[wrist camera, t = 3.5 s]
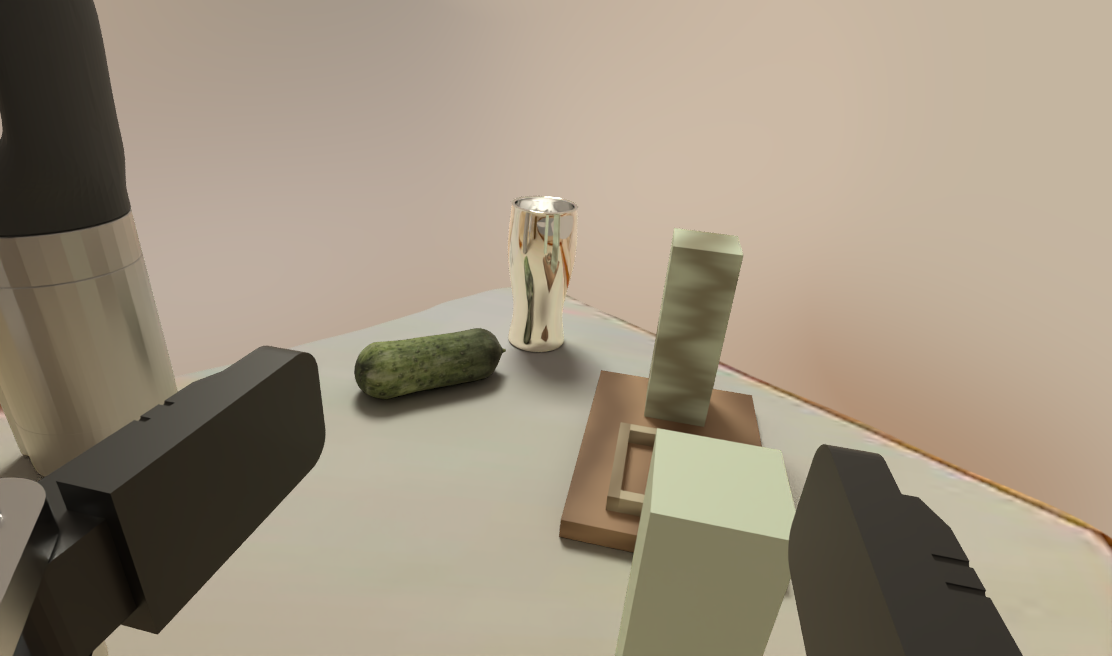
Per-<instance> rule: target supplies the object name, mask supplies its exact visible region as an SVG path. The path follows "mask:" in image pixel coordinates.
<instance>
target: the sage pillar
mask: <svg viewBox="0 0 1112 656" xmlns="http://www.w3.org/2000/svg"><path fill="white" fill-rule="evenodd" d="M795 513H796V511H795V506H794V502H793V498H792V494H791V490H790V486H789V482H788V477H787V473H786V469H785V465H784V461H783V457H782V452H781V450H776V449H770V448H765V447H759V446H754V445H748V444H742V443H737V442H731V441H726V440H720V439H715V438H709V437H704V436H698V435H692V434H687V433H681V432H676V431H670V430H665V429H659V428H657V431H656V436H655V442H654V447H653V453H652V458H651V463H650V469H649V474H648V480H647V485H646V490H645V496H644V501H643V506H642V512H641V517H640V523H639V528H638V533H637V539H636V544H635V550H634V555H633V560H632V566H631V571H630V576H629V582H628V587H627V593H626V598H625V603H624V609H623V614H622V620H621V625H620V630H619V636H618V641H617V647H616V652H615V656H763V653H764V651H765V648H766V645H767V642H768V640H769V637H770V634H771V631H772V628H773V626H774V623H775V620H776V617H777V615H778V612H779V609H780V606H781V604H782V601H783V598H784V595H785V592H786V590H787V587H788V584H789V581H790V579H791V575H790V570H789V562H788V544H789V535H790V530H791V525H792V522H793V519H794V516H795Z"/></svg>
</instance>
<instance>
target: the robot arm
mask: <svg viewBox="0 0 1112 656" xmlns="http://www.w3.org/2000/svg"><path fill="white" fill-rule="evenodd" d="M0 113H1V119H2V127H3V132H2V137H1V139H0V404H1V406H2V408H3V411H4V413H5V416H6V418H7V420H8V423H9V425H10V428H11V430H12V432H13V435H14V437H15V440H16V442H17V444H18V447H19V449H20V451H21V454H23V455H27V456H29V457H30V460H31V462H32V464H33V467H34V468H35V470H36V471H37V472H38V474H40V475H42V476H44V478H43V479H41V480H40V481H38V482H35V481H33V480H30V479H24V478H13V477H10V478H0V656H108V649H107V645H106V643H105V639H106V638H107V637H108V636H109V635H110V634H111V633H112V632H113V631H114V630H115V629H116V628H117V627H118V626H120V625H124V626H128V627H132V628H136V629H139V630H143V631H147V632H150V633H154V634H159V633H160V632H161V630H162V629H163V628H164V627H165V626H166V625H167V624H168V623H169V622H170V621H171V620H172V619H173V618H174V616H175V615H176V614H177V613H178V612H179V611H180V610H181V609H182V608H183V607H184V606H185V605H186V604H187V603H188V601H189V600H190V599H191V598H192V597H193V596H194V595H195V594H196V593H197V592H198V591H199V590H200V589H201V587H202V586H203V585H204V584H205V583H206V582H207V581H208V580H209V579H210V578H211V577H212V576H213V575H214V574H215V572H216V571H217V570H218V569H219V568H220V567H221V566H222V565H223V564H224V563H225V562H226V561H227V560H228V559H229V557H230V556H231V555H232V554H233V553H234V552H235V551H236V550H237V549H238V548H239V547H240V546H241V545H242V543H243V542H244V541H245V540H246V539H247V538H248V537H249V536H250V535H251V534H252V533H253V532H254V531H255V530H256V528H257V527H258V526H259V525H260V524H261V523H262V522H263V521H264V520H265V519H266V518H267V517H268V516H269V514H270V513H271V512H272V511H273V510H274V509H275V508H276V507H277V506H278V505H279V504H280V503H281V502H282V501H283V499H284V498H285V497H286V496H287V495H288V494H289V493H290V492H291V491H292V490H293V489H294V488H295V487H296V486H297V484H298V483H299V482H300V481H301V480H302V479H303V478H304V477H305V476H306V475H307V474H308V473H309V472H310V470H311V469H312V468H313V467H314V466H315V464H316V463H317V461H318V459H319V457H320V455H321V453H322V450H323V447H324V442H325V423H324V414H323V406H322V398H321V390H320V382H319V373H318V366H317V363H316V360H315V358H314V357H313V356H312V355H311V354H309V353H306V352H300V351H295V350H289V349H283V348H277V347H272V346H262V347H259V348H258V349H256V350H254V351H253V352H251V353H250V354H248V355H247V356H245V357H244V358H242V359H241V360H239V361H237V362H236V363H234V364H233V365H231V366H230V367H228V368H227V369H225V370H224V371H221V372H219V373H216V374H214V375H211V376H208V377H206V378H203V379H200V380H198V381H195V382H193V383H191V384H189V385H188V386H186V387H185V388H183V389H182V390H180V391H179V392H178V390H177V387H176V383H175V378H174V374H173V370H172V366H171V362H170V358H169V354H168V350H167V347H166V343H165V339H164V335H163V331H162V327H161V323H160V319H159V315H158V312H157V308H156V304H155V300H154V296H153V292H152V288H151V284H150V281H149V276H148V273H147V269H146V265H145V261H144V257H143V254H142V250H141V247H140V242H139V238H138V234H137V230H136V226H135V222H134V218H133V215H132V211H131V206H130V202H129V198H128V193H127V189H126V176H125V156H124V148H123V142H122V138H121V133H120V129H119V124H118V119H117V115H116V110H115V105H114V99H113V94H112V89H111V83H110V78H109V72H108V66H107V61H106V55H105V49H104V44H103V38H102V34H101V29H100V24H99V20H98V15H97V12H96V8H95V5H94V2H93V0H0ZM788 562H789V570H790V575H791V580H792V585H793V590H794V595H795V600H796V605H797V610H798V615H799V620H800V625H801V630H802V635H803V640H804V645H805V650H806V655H807V656H1023V655H1022V653H1021V652H1020V650H1019V648H1018V646H1017V645H1016V643H1015V641H1014V639H1013V637H1012V636H1011V634H1010V632H1009V630H1008V629H1007V627H1006V625H1005V623H1004V622H1003V620H1002V618H1001V616H1000V614H999V613H998V611H997V609H996V607H995V606H994V604H993V602H992V600H991V599H990V598H988V597H986V596H985V591H986V590H985V588H984V586H983V584H982V583H981V581H980V579H979V577H978V576H977V574H976V572H975V570H974V569H973V568H970V567H969V560H968V558H967V556H966V554H965V553H964V551H963V549H962V547H961V546H960V544H959V542H958V540H957V539H956V537H955V535H954V533H953V531H952V530H951V528H950V527H949V526H948V525H947V524H946V523H945V522H944V521H943V520H942V519H941V518H940V517H938V516H937V515H936V514H935V513H934V512H933V511H932V510H931V509H930V508H929V507H928V506H927V505H926V504H925V503H924V502H923V501H922V500H921V499H920V498H919V497H914V496H908V495H903V494H901V492H900V490H899V488H898V486H897V484H896V482H895V480H894V478H893V476H892V474H891V472H890V470H889V468H888V466H887V464H886V462H885V460H884V458H883V457H882V456H881V455H880V454H877V453H871V452H866V451H860V450H854V449H848V448H843V447H837V446H831V445H825V444H823V445H821V446H820V447H819V448H818V449H817V451H816V453H815V455H814V458H813V461H812V464H811V467H810V470H809V473H808V476H807V479H806V482H805V485H804V488H803V491H802V494H801V497H800V501H799V504H798V507H797V510H796V513H795V516H794V519H793V522H792V525H791V530H790V535H789V544H788Z"/></svg>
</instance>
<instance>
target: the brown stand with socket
mask: <svg viewBox="0 0 1112 656" xmlns="http://www.w3.org/2000/svg"><path fill="white" fill-rule="evenodd" d="M742 259H743V253H742V249H741V246H740V242H739V239H738V236H732V235H724V234H716V233H709V232H701V231H693V230H685V229H677V228H674V233H673V240H672V245H671V251H670V257H669V263H668V268H667V274H666V280H665V286H664V293H663V298H662V304H661V310H660V316H659V321H658V327H657V333H656V339H655V345H654V351H653V357H652V363H651V369H650V374H649V378H644V377H638V376H632V375H626V374H620V373H614V372H608V371H602V370H601V373H600V377H599V381H598V385H597V388H596V392H595V396H594V399H593V403H592V407H591V410H590V414H589V418H588V422H587V425H586V429H585V433H584V436H583V440H582V444H581V447H580V451H579V455H578V458H577V462H576V466H575V470H574V473H573V477H572V481H571V484H570V488H569V492H568V495H567V499H566V503H565V507H564V510H563V514H562V518H561V524H560V534H559V537H563V538H568V539H573V540H577V541H582V542H587V543H591V544H596V545H601V546H606V547H610V548H615V549H620V550H624V551H629V552H634V550H635V544H636V539H637V533H638V528H639V523H640V517H641V512H642V506H643V501H644V496H645V490H646V485H647V480H648V474H649V469H650V463H651V458H652V453H653V447H654V442H655V436H656V431H657V428H659V429H665V430H670V431H676V432H681V433H687V434H692V435H698V436H704V437H709V438H715V439H720V440H726V441H731V442H737V443H742V444H748V445H754V446H759V447H762V446H761V440H760V435H759V430H758V425H757V420H756V415H755V409H754V404H753V399H752V395H746V394H740V393H734V392H728V391H722V390H716V389H713V386H714V382H715V377H716V373H717V368H718V364H719V360H720V355H721V351H722V346H723V342H724V338H725V333H726V329H727V325H728V320H729V316H730V312H731V307H732V303H733V299H734V294H735V290H736V285H737V281H738V276H739V272H740V268H741V264H742Z"/></svg>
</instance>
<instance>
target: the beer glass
mask: <svg viewBox="0 0 1112 656" xmlns="http://www.w3.org/2000/svg"><path fill="white" fill-rule="evenodd" d="M577 212H578V206H577V204H575V203H574V202H571V201H569V200H565V199H561V198H556V197H548V196H526V197H520V198H516V199H514V200H513V201H512V207H511V215H510V223H509V234H508V264H509V273H510V280H511V286H512V295H513V317H512V321H511V326H510V330H509V334H508V338H509V341H510V343H511V344H512V345H514V346H515V347H517V348H519V349H522V350H525V351H530V352H547V351H552V350H555V349H557V348H559V347H560V346H561V345H562V344H563V342H564V333H563V324H562V312H563V305H564V301H565V297H566V293H567V289H568V286H569V282H570V279H571V275H572V270H573V266H574V262H575V255H576V247H577Z"/></svg>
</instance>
